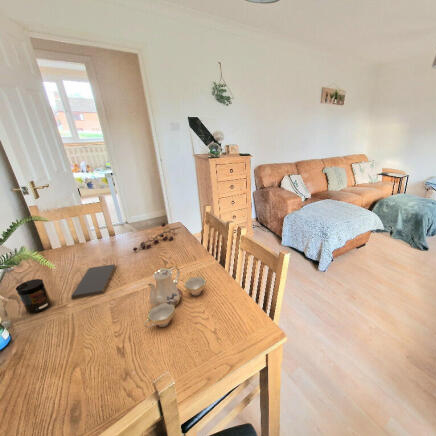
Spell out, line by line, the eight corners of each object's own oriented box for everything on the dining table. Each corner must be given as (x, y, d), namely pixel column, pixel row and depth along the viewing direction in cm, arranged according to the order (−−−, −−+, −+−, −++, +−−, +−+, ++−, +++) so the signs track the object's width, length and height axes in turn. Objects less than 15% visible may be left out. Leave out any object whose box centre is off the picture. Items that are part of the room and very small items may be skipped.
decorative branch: (131, 243, 123) (171, 213, 147) (129, 253, 128) (168, 222, 152) (150, 255, 124) (186, 223, 148) (147, 264, 129) (183, 232, 153)
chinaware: (166, 341, 80) (163, 303, 73) (124, 326, 83) (118, 288, 76) (211, 289, 105) (212, 257, 99) (178, 279, 108) (176, 247, 101)
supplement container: (43, 299, 92) (34, 277, 89) (57, 303, 91) (47, 281, 87) (21, 312, 86) (10, 288, 82) (35, 316, 85) (24, 292, 81)
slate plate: (72, 298, 94) (71, 295, 93) (90, 270, 111) (89, 267, 110) (103, 293, 97) (102, 290, 97) (115, 266, 114) (114, 264, 114)
